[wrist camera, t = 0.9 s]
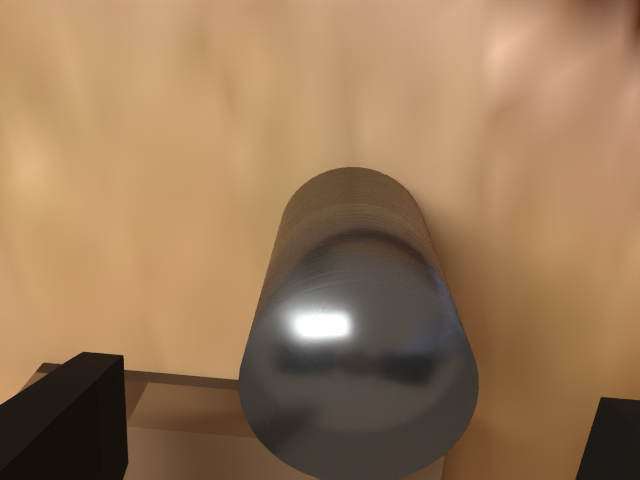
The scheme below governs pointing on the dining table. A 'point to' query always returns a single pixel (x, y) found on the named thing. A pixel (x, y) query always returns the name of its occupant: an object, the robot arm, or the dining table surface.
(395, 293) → the pin
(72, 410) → the robot arm
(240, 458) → the socket block
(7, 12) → the dining table surface
